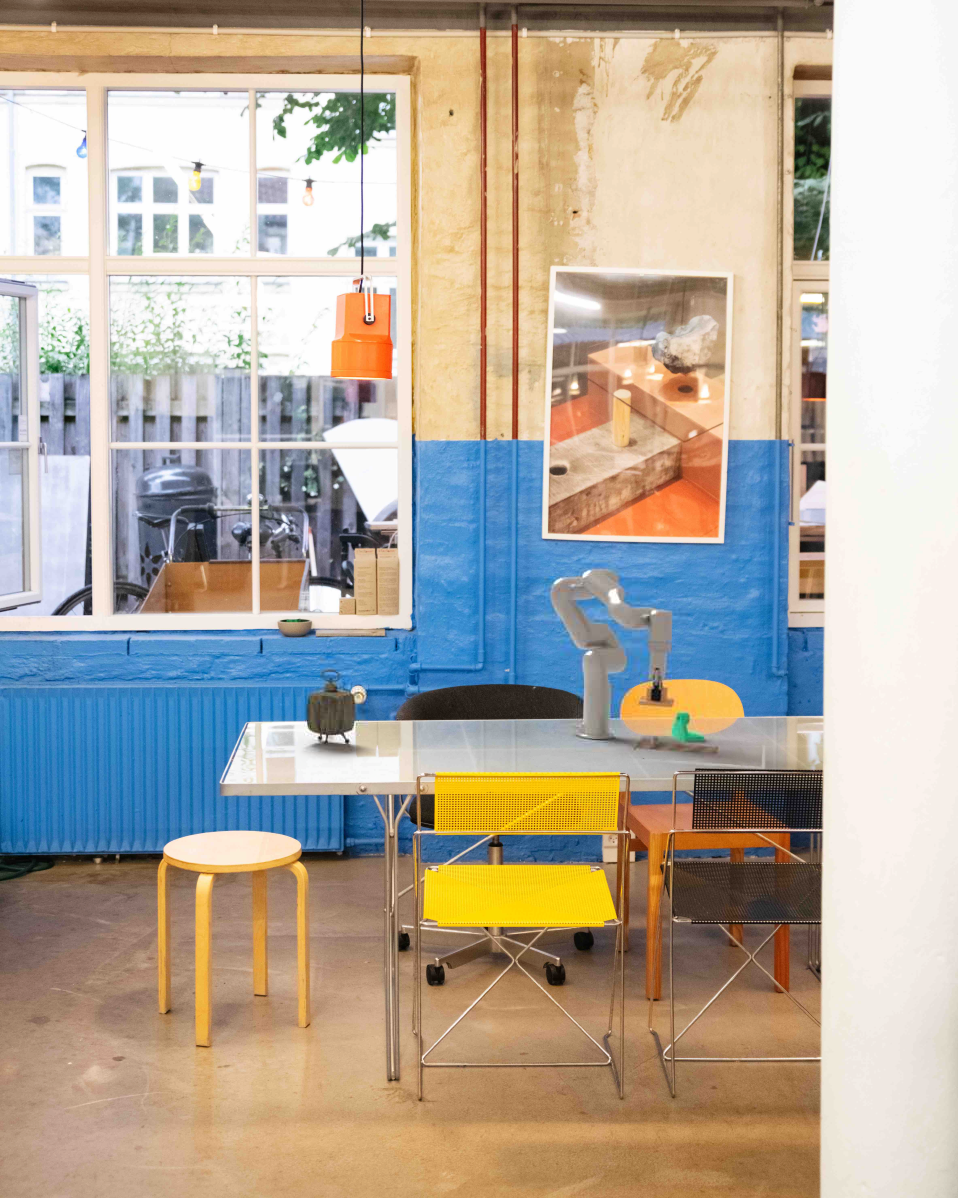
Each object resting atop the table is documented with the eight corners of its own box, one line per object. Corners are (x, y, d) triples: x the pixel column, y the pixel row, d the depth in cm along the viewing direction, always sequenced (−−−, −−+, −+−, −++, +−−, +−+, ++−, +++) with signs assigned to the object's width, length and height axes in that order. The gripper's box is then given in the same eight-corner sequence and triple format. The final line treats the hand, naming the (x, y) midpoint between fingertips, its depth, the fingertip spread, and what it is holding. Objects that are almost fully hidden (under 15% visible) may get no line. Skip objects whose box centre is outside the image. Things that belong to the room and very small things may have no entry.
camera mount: (704, 744, 401) (706, 715, 400) (684, 744, 399) (685, 715, 398) (690, 737, 412) (692, 709, 412) (671, 738, 411) (672, 709, 410)
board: (634, 750, 385) (634, 739, 384) (638, 744, 396) (638, 732, 396) (716, 756, 378) (716, 744, 378) (717, 750, 390) (718, 738, 390)
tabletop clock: (354, 743, 384) (356, 669, 383) (340, 748, 376) (341, 672, 375) (318, 739, 391) (319, 666, 389) (303, 743, 382) (304, 669, 381)
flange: (671, 707, 382) (672, 692, 381) (638, 704, 384) (639, 689, 384) (674, 702, 392) (674, 687, 392) (641, 699, 395) (642, 684, 394)
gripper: (650, 643, 396) (647, 694, 397) (646, 648, 379) (643, 702, 381) (672, 644, 394) (669, 696, 396) (668, 650, 377) (666, 704, 379)
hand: (656, 698), depth 388 cm, fingers closed on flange, 6 cm apart
